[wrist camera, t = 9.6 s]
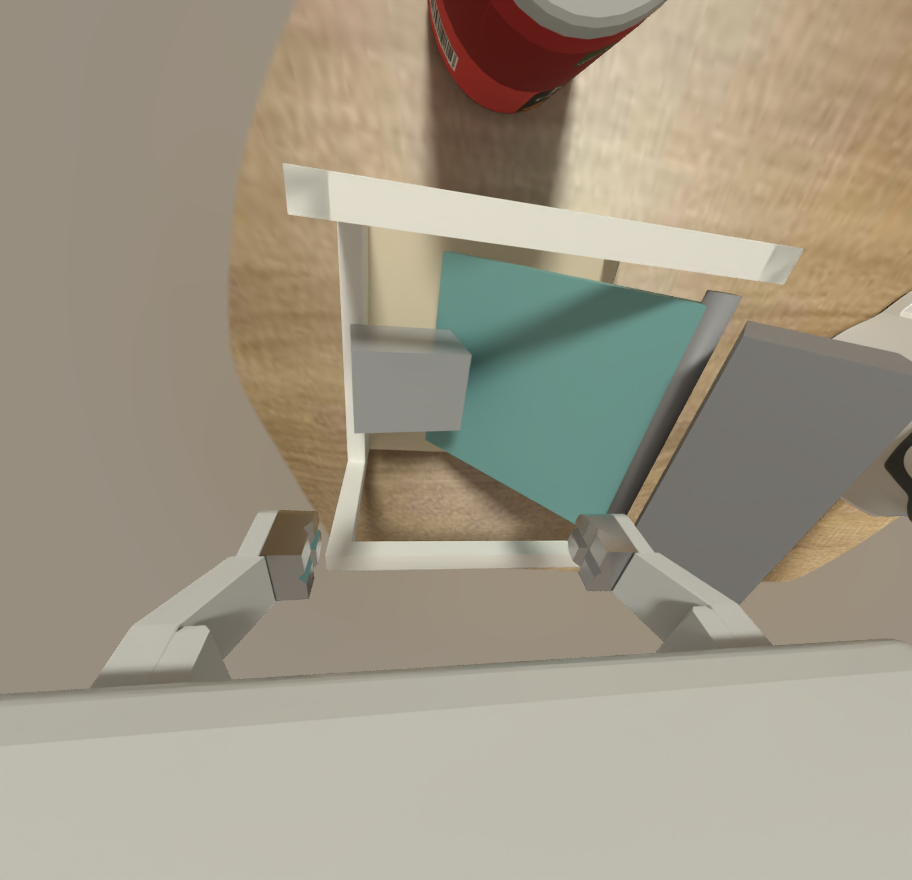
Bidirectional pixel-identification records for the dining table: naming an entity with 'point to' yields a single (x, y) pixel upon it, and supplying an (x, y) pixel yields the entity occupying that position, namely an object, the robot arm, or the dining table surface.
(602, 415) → the trapdoor
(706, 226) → the dining table surface
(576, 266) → the frame
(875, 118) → the dining table surface
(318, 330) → the dining table surface
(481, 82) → the canned food
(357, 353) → the grey block
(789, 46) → the dining table surface
